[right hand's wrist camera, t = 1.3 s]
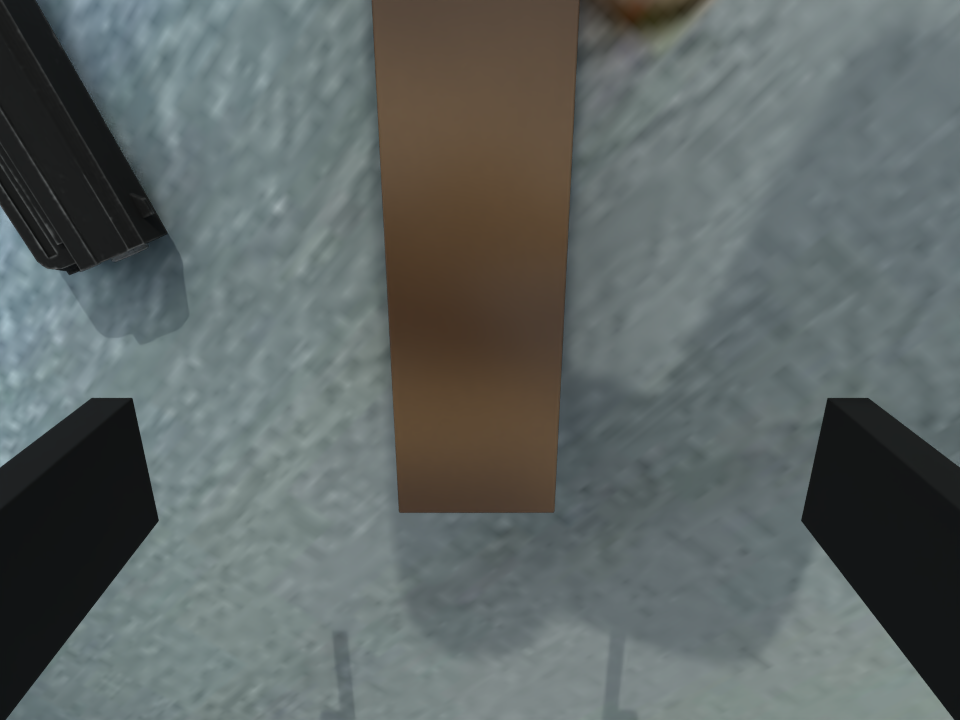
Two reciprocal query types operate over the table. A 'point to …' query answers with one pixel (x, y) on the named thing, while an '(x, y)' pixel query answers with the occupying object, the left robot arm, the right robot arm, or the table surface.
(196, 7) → the table surface
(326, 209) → the table surface
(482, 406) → the post
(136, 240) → the handgun
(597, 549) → the table surface
